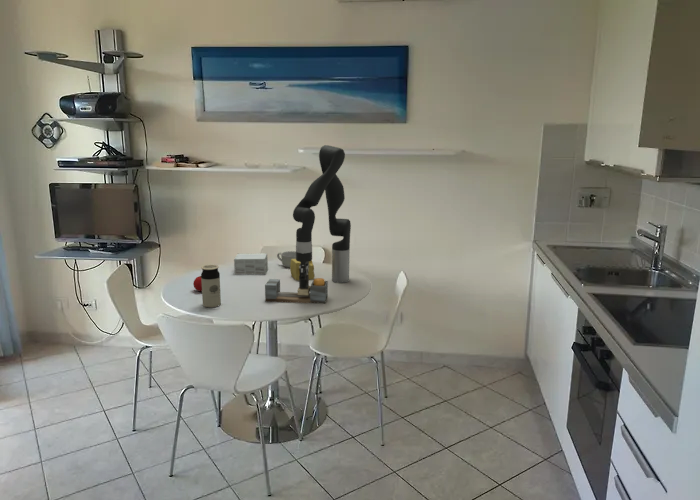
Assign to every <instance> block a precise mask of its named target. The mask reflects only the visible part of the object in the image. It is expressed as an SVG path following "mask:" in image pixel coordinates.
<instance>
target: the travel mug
mask: <svg viewBox="0 0 700 500" xmlns="http://www.w3.org/2000/svg"><path fill="white" fill-rule="evenodd" d="M219 268H220V266H219V265H217V264H205V265H202V266H201V270H202V272H201V275H200V276H201V281H202V292H201V295H202V297H201V298H202V306H203V307H205V308H215V307H217V308H218V307H219V306H220V305H221V304H222V299H221V296H222V295H221V280H220V279H221V276H220V274H221V273H220V272H219Z"/></svg>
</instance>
